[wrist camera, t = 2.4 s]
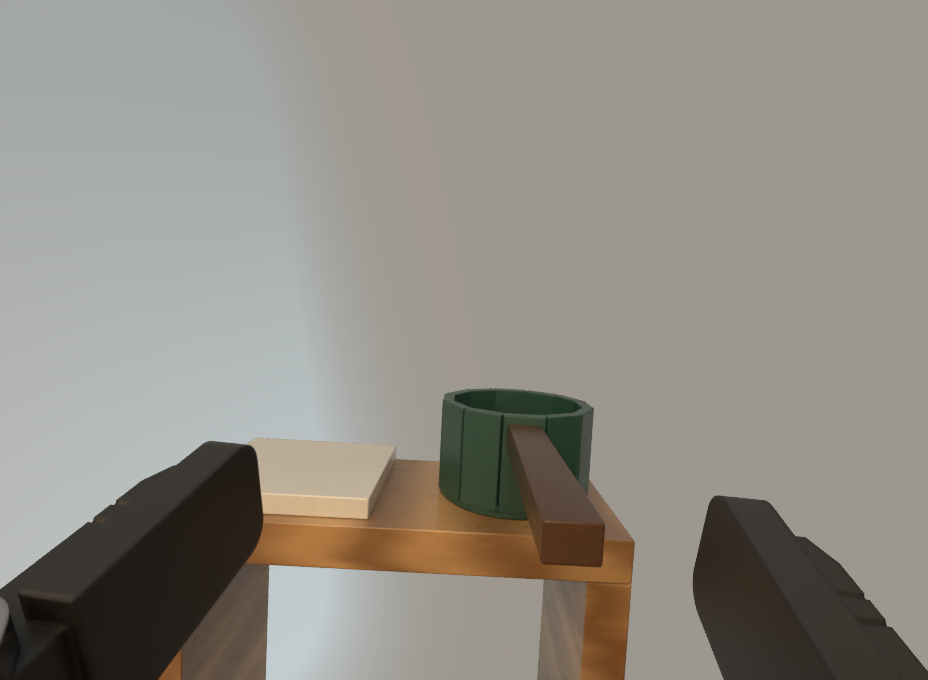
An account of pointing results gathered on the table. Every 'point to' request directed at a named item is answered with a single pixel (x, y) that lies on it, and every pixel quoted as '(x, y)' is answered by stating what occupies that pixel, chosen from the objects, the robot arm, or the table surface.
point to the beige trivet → (321, 476)
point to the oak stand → (425, 551)
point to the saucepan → (524, 467)
